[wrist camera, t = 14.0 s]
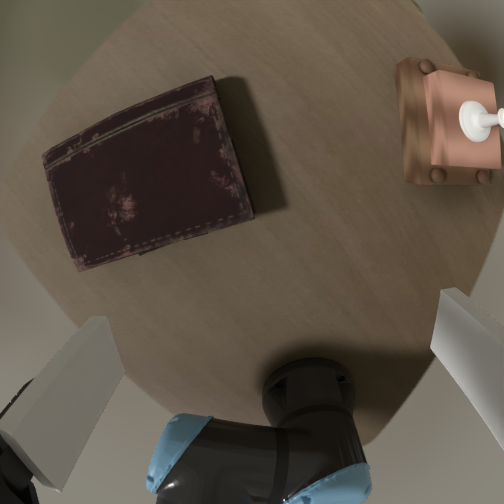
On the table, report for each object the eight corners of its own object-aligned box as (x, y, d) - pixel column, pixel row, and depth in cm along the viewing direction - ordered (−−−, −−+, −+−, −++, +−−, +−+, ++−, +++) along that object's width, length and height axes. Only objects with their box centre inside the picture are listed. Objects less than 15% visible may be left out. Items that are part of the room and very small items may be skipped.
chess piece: (452, 108, 25) (511, 98, 16) (477, 95, 24) (533, 85, 15) (469, 148, 26) (529, 151, 17) (493, 133, 26) (551, 134, 16)
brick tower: (469, 182, 36) (508, 189, 27) (404, 181, 37) (439, 188, 28) (460, 78, 31) (496, 67, 23) (393, 66, 32) (424, 47, 23)
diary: (58, 151, 37) (38, 151, 32) (215, 81, 34) (209, 70, 30) (95, 267, 42) (78, 279, 37) (257, 218, 39) (256, 226, 34)
